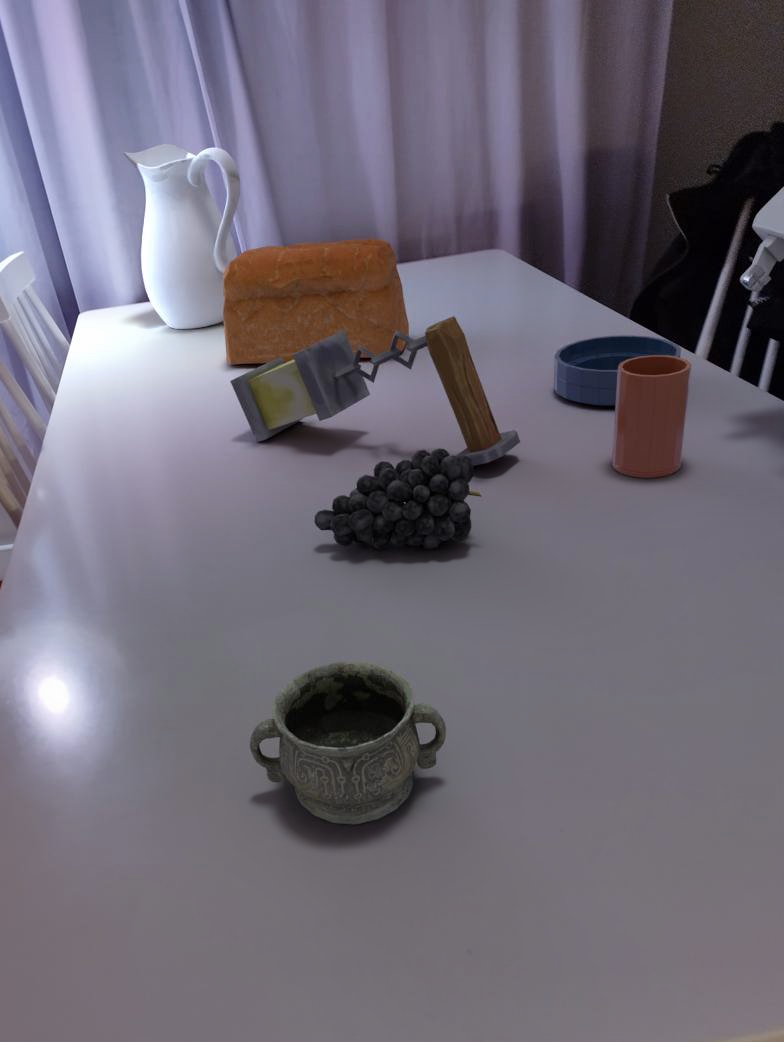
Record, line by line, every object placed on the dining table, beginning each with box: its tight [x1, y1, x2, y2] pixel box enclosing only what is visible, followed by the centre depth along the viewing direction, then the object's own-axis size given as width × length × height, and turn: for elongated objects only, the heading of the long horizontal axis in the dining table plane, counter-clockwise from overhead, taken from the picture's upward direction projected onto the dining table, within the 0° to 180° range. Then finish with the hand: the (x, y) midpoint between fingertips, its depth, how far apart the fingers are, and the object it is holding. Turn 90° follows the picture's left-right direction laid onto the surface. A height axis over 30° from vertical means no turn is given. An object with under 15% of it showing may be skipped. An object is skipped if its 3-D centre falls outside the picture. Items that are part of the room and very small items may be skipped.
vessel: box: [249, 661, 447, 826], centre depth 57 cm, size 12×9×6 cm
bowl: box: [553, 334, 682, 407], centre depth 112 cm, size 14×14×4 cm
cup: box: [611, 355, 692, 479], centre depth 91 cm, size 6×6×10 cm
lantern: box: [229, 315, 521, 467], centre depth 104 cm, size 8×17×30 cm
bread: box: [223, 238, 410, 366], centre depth 138 cm, size 14×27×15 cm, turn 77°
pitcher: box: [123, 143, 241, 330], centre depth 158 cm, size 24×17×28 cm
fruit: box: [314, 448, 483, 551], centre depth 84 cm, size 9×8×15 cm
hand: (774, 297), depth 86 cm, fingers open, 8 cm apart
